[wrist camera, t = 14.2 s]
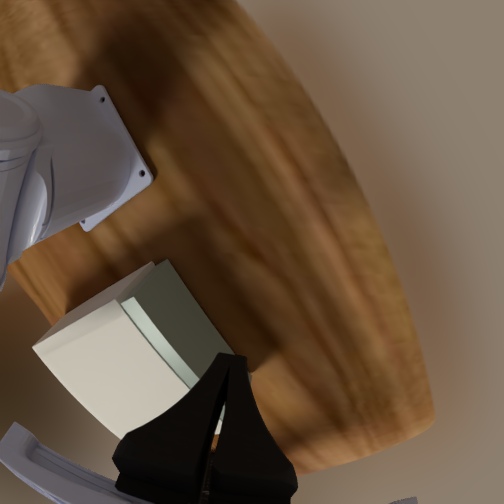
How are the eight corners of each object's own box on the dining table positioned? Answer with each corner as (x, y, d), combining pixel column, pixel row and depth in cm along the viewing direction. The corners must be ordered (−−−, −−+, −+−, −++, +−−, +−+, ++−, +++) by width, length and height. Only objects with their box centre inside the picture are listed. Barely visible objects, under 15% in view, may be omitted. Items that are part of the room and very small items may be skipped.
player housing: (64, 314, 25) (31, 347, 19) (152, 260, 22) (114, 299, 16) (142, 404, 29) (124, 442, 23) (240, 380, 25) (232, 431, 20)
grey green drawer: (75, 313, 24) (42, 346, 19) (167, 258, 21) (133, 296, 16) (151, 401, 28) (133, 440, 22) (251, 375, 25) (245, 426, 19)
